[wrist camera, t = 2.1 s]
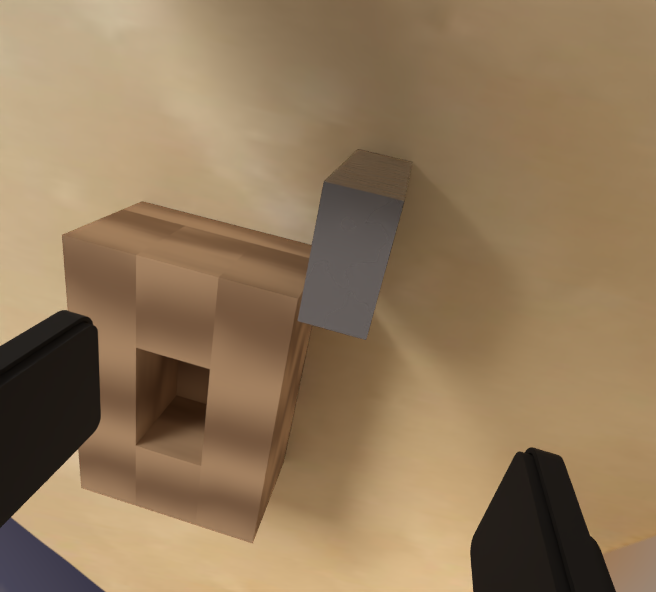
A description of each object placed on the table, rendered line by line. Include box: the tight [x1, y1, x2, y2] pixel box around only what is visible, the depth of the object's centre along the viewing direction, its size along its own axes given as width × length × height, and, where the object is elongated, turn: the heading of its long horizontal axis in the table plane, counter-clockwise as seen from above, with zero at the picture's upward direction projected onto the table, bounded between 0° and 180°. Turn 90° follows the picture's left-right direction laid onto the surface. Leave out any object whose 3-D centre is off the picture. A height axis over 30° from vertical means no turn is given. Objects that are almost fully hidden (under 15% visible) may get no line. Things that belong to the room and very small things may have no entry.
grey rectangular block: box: [298, 149, 412, 340], centre depth 22 cm, size 6×3×9 cm, turn 169°
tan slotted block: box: [62, 202, 312, 543], centre depth 29 cm, size 18×12×7 cm, turn 169°
